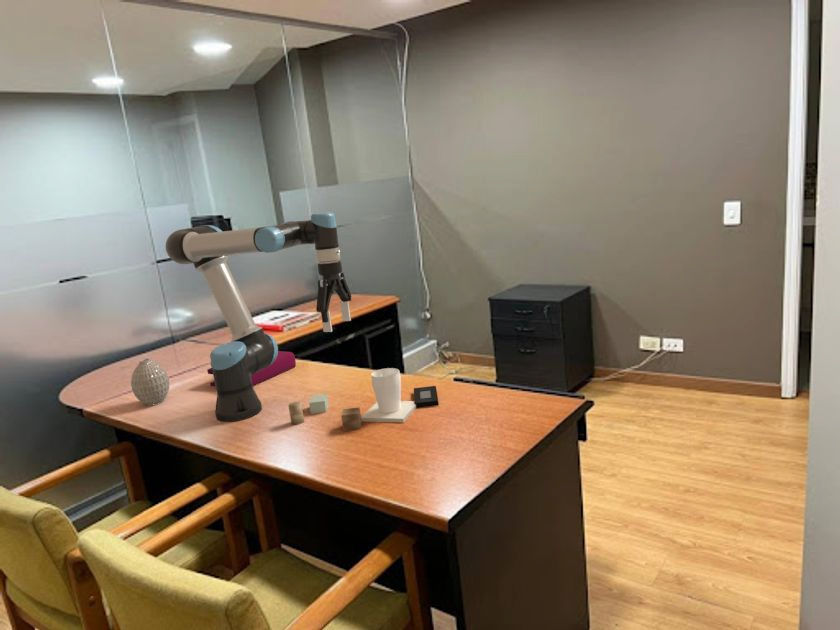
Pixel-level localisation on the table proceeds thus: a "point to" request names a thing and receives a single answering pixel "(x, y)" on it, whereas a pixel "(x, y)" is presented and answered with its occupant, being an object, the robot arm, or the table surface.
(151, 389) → the vase
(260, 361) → the robot arm
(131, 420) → the table surface
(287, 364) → the book
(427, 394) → the vhs tape
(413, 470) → the table surface
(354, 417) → the walnut cube
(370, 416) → the tile
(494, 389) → the table surface
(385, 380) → the cup
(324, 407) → the sage block
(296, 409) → the oak cylinder
